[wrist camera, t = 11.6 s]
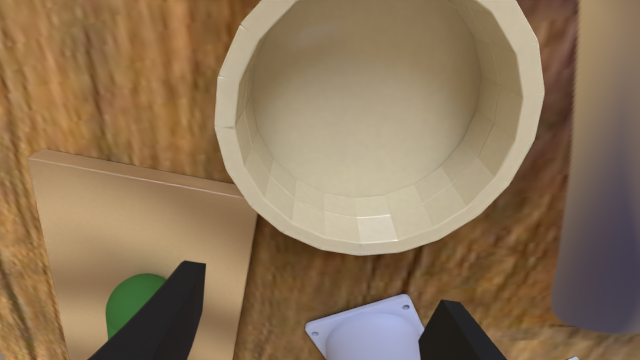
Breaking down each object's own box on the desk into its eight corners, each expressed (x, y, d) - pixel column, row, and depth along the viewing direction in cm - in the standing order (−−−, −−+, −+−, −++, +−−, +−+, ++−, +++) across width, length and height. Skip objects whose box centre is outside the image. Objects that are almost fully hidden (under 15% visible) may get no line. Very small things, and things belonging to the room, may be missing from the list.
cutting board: (229, 382, 30) (226, 397, 29) (81, 364, 29) (72, 379, 28) (262, 189, 20) (259, 200, 19) (41, 147, 19) (26, 157, 18)
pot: (510, 155, 20) (558, 201, 16) (304, 230, 22) (301, 285, 18) (459, -112, 14) (516, -145, 10) (186, 31, 16) (145, 49, 12)
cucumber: (177, 342, 26) (172, 394, 23) (119, 347, 25) (106, 403, 22) (180, 259, 22) (175, 310, 19) (111, 260, 21) (94, 314, 18)
